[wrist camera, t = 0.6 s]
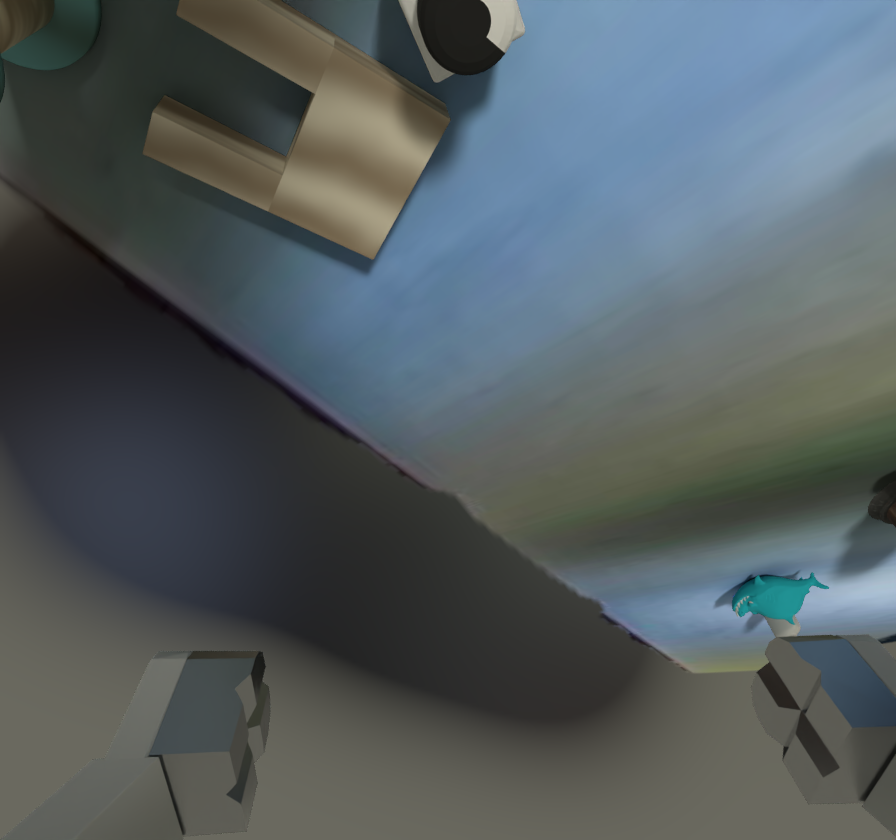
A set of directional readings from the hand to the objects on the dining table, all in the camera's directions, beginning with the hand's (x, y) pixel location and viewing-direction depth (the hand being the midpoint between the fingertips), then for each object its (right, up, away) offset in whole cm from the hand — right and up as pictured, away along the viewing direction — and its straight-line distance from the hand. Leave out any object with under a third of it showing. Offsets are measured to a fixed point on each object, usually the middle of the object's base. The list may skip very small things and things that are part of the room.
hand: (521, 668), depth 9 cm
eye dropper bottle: (+71, -36, +120) cm, 144 cm away
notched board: (-14, +29, +39) cm, 51 cm away
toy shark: (+65, -28, +111) cm, 132 cm away
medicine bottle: (-1, +37, +34) cm, 50 cm away
